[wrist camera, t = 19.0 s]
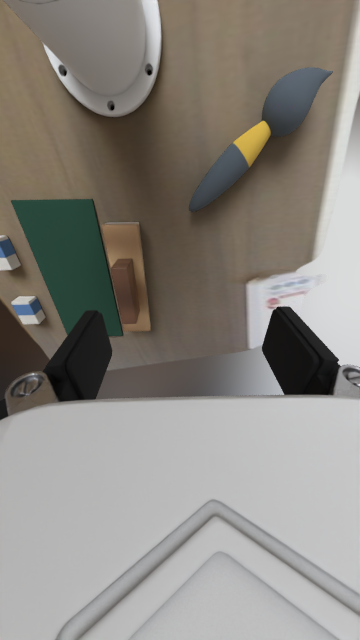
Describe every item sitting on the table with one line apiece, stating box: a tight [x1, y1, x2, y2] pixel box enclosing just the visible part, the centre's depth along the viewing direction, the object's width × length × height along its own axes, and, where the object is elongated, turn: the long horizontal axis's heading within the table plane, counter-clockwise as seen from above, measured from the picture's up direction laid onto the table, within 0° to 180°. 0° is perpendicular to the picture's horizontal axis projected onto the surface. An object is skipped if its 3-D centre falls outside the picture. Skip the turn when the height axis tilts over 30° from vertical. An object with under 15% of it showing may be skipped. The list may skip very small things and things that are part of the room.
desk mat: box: [11, 199, 123, 336], centre depth 37 cm, size 26×12×1 cm, turn 1°
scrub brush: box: [102, 222, 151, 331], centre depth 35 cm, size 20×5×7 cm, turn 1°
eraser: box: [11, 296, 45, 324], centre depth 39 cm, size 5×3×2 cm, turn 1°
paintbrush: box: [189, 68, 333, 212], centre depth 25 cm, size 20×5×5 cm, turn 139°
